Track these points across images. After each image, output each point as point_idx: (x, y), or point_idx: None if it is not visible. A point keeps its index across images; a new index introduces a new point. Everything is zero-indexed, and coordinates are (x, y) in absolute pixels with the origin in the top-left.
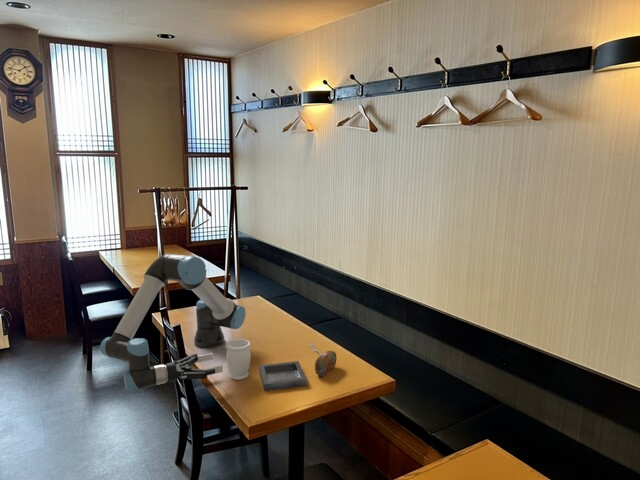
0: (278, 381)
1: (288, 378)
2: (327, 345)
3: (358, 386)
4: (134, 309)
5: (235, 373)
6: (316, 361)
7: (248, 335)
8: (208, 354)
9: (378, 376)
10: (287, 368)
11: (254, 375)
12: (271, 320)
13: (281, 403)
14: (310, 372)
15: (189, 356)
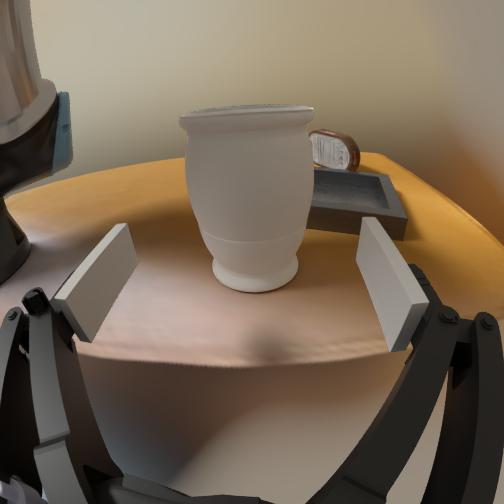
0: (393, 198)
1: (348, 195)
2: None
3: (394, 166)
4: None
5: (293, 253)
6: (348, 143)
7: (64, 210)
8: (110, 241)
9: (367, 153)
10: None
11: None
12: (69, 186)
13: (462, 233)
14: None
15: (1, 348)
